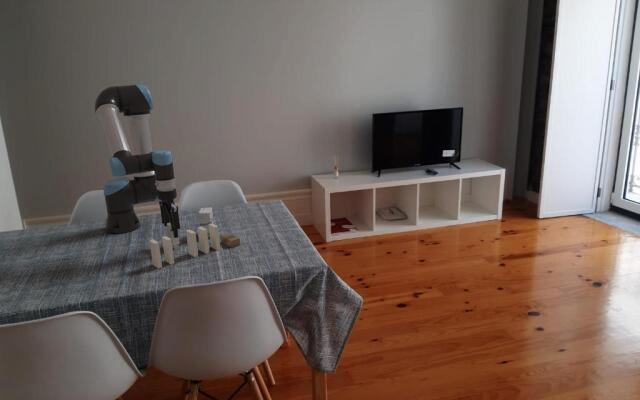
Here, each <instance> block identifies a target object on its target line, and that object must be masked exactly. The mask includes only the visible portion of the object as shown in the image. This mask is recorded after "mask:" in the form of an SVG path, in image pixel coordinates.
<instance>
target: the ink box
mask: <svg viewBox="0 0 640 400" xmlns="http://www.w3.org/2000/svg"><path fill="white" fill-rule="evenodd" d="M198 219H199V227H203V228H205V229H207V235H208V239H210V233H209V224H214V214H213V207H201V208H200V210H199V212H198ZM214 225H215V224H214Z"/></svg>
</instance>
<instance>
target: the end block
mask: <svg viewBox="0 0 640 400" xmlns="http://www.w3.org/2000/svg"><path fill="white" fill-rule="evenodd" d="M219 238H220V242H221V244H224V245H226V246H228V247H229V248H232V249H233V248H235V247H239V246H241V240H240V238H239V237H237V236H235V235H234V234H231V233H229V232H228V233H224V234H221V235H220V234H219Z"/></svg>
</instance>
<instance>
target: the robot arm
mask: <svg viewBox="0 0 640 400" xmlns="http://www.w3.org/2000/svg"><path fill="white" fill-rule="evenodd" d="M153 100H154V99H153V97H152V94H151V91H150V90H149V88H148V86H146V85H145V84H129V85H127V84H126V85H116V86H114V85H113V86H108V87H106V88H104V89H102V90H101V91H100V92H99V94H98V95H97V97H96V99H95V102H94V113H95V115H96V118H97V119H99V120H100V122H101V127H102V129H103V133H104V136H105V140H106V142H107V145H108V149H109V153H110V154H111V157H112V158H109V160H108V165H109V171H110V174H111V175H112V176H113V177H116V178H113V179H110V180H108V181H106V182H105V183H104V184H103V186H102V187H103V196H104V200H105V206H106V213H107V217H106V222H105V231H106V233H109V234H125V233H129V232H132V231H135V230H138V229H139V228H140V227H141V221H140V219H139V217H138V215H137V214H136V211H135V209H134V205H139V204H146V203H152V202H153V203H154V202H157V201H158V203H159V204H158V205H159V209H160V215H161V216H160V217H161V224H162V225H163V226H164V227H165V228H164V230H165V236H167V237H168V230H167V223H170V224H171V228H172V229H171V230H170V231H171V235H172V243H173V246H174V245H177V244H178V245H180V243H181V242H180V236H179V230H181V224H180V216H179V215H180V214H179V206H178V205H176V204H175V201H174V199H176V198H177V197H178V193H177V189H176V187H177V185H176V178H175V173H174V169H175V168H174V162H173V156H172V152H171V151H170V150H167V149H166V150H165V149H161V150H153V144H152V138H151V130H150V126H149V125H150V124H149V117H150V115H151V111H152V110H153V109H154V101H153ZM153 111H154V110H153ZM121 113H123V118H126V120H127V121H128V128H129V135H130V142H131V147H132V152H131V148H130V145H129V142H128V139H127V136H126V134H125V130H124V128H123V125H122V122H121V118H120V117H119V116H120V114H121ZM132 153H133V154H132ZM129 175H132V176H133V179H130V178H129Z"/></svg>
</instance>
